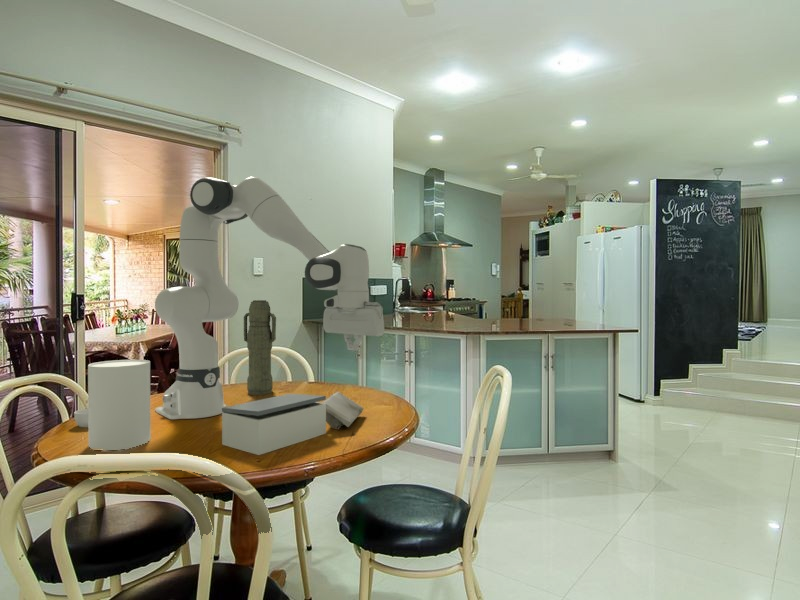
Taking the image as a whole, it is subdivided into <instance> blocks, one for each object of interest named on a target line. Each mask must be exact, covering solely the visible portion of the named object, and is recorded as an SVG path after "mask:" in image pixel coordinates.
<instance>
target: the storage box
mask: <svg viewBox="0 0 800 600" xmlns="http://www.w3.org/2000/svg"><path fill="white" fill-rule="evenodd" d="M326 434H327V422H326V404H324V403H322V402H320V401H318V402H314V403H310V404H306V405H301V406H297V407H293V408H289V409H285V410H281V411H276V412H272V413H268V414H264V415H260V416H255V415H246V414H237V413H228V412H222V413H221V445H222V446H225V447H226V446H227V447H228V448H233V449H236V450H240V451H243V452H246V453H249V454H253V455H257V456H261V455H264V454H268V453H270V452H273V451H276V450H279V449H282V448H285V447H289V446H293V445H295V444H298V443H301V442H305V441H308V440H310V439H314V438H316V437H320V436H322V435H326Z"/></svg>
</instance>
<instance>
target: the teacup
mask: <svg viewBox="0 0 800 600" xmlns="http://www.w3.org/2000/svg"><path fill="white" fill-rule="evenodd" d="M73 416H74V421H75V423H76V425H77V426H78V427H79V428H88V408H83V409H78V410H76V411H74V412H73Z"/></svg>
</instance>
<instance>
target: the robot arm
mask: <svg viewBox="0 0 800 600" xmlns="http://www.w3.org/2000/svg"><path fill="white" fill-rule="evenodd" d="M189 199H190V202H191V204H192V205H189V206H187V207H186V208H185V209H184V210H183V211H182V216H181V220H180V227H179V240H178V241H179V252H178V253H179V257H178V259H179V266H180V267H181V269H182V270H183V271H184V272H186V273H187V274H189V275H190V276H191V277H192V278H193V280H194V283H195V286H181V285H180V286H174V287H173V286H172V287H168V288H164V289H161V291H159V293H158V294H157V295H156V298H155V301H154V309H155V312H156V315H157V316H158V317H159V319H160V320H162V322H164V323H166V324H167V326H169V327H170V328H171V330H172V331H173V333H174V335H175V338H176V340H177V345H178V354H179V356H178V357H179V367H178V369H175V371H176V372H175V374H176V377H175V381H174V383H173V384H171V386H169V388H167V389H166V390H165V391H164V394H163V395H162V402H163V405H161V406H158V407H156V408H155V409H154V412H155V413H157V414H159V415H161V416H163V417H165V418H167V419H168V420H180V419H181V420H182V419H187V420H188V419H189V420H190V419H202V418H209V417H214V416H217V415H222V408H223V407H228V406H227V404H225V401H224V400H225V398H224V390H223V384H222V382H221V381H220V380H219V379H220V378H221V368H220V366H219V344H218V341H217V340H216V339H215V337H213V336H212V335H210V334H208V333H206V331H205V329H204V326H203V323H211V322H212V323H214V322H221V321H225V320H228V319H231V318H233V317H234V316H235V315H236V314H237V312H238V309H239V299H238V295H237V293H236V292H235V291H233V290H232V288H230V287H229V286H228V285H227V283H226V282H225V280H224V278H223V275H222V273H221V268H220V261H219V259H220V258H219V229H220V226H221V224H225V225H229V224H231V223H234V222H237V221H241V220H245V219H246V218H249V219H250V220H251V221H252V222H253V224H254V225H256V227H257V228H258V229H260V231H262V232H263V233H265V234H266V235H267V236H269V238H273V239H274V240H278V241H280V242H283V243H285V244H288V245H290V246H292V247H293V248H295V249H297V250H298V251H299V252H300V253H301V254H302V255H303V256H304V257H305V258H306V259H307V260H308V262H307V263H306V265H305V268H304V277H305V281H306V282H307V283H308V285H309V286H310V287H312V288H313V289H317V290H320V291H321V290H324V291H331V292H332V291H333V292H337V294H336V295H334V296H332V297H329V298H326V299H325V300H324V301H323V305H324V307H325V308H324V311H323V317H322V318H323V323H322V324H323V325H322V326H323V330H324V332H325V333H327V334H328V333H329V334H341V335H342V334H343V339H344V341H345V343H346V349H347V351H354V352H357V351H359V349H360V344H361V341H362V340H363V336H369V337H380V336H381V337H382V336H383V335H384V333H385V322H384V314H383V313H384V312H383V310H384V309H383V306H382V305H381V303H379V302H376V301H374V302H371V301H370V289H369V285H368V283H369V282H368V280H369V278H370V264H369V263H370V262H369V254H368V251H367V250H366V249H365V248H364V247H363V246H359V245H355V244H350V243H341V244H340V245H339V246H338V247H337V248H336V249H333V250H332V251H329V250H328V249H327V248H326V247H325V245H323V244H322V242H321V241H320V240H318V238H317V237H315V236H314V234H312V232H311V231H310V230H309V229H308V228H307V227H306V225H304V223H303V222H302V221H301V220H300V219H299V217H298V216H297V214H296V213H295V212H294V211H293V209H292V208H291V207H290V206H289V204H288V203H287V202H286V200H285V199H283V198H282V196H281V195H280V194H279V193H278V192H277V191H276V190H275V189H273V188H272V187H271V186H270V185H269V184H268V183H267V182H265V181H264V180H263V179H261V178H259V177H256V176H249V177H247V178H244V179H243V180H242V181H240V182H239V183H238V184H234V183H233V182H232V183H231V182H230V181H229V182H228V181H226V180H222V179H219V178H215V177H203V178H199V179H198V180H196V181H195V182H194V183H193V184H192V187H191V189H190V193H189ZM352 338H353V339H354V341H353V340H352Z"/></svg>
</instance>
